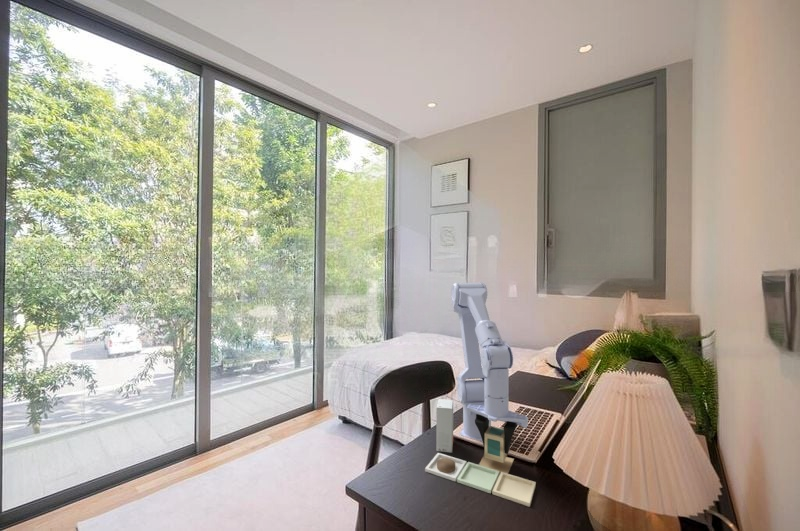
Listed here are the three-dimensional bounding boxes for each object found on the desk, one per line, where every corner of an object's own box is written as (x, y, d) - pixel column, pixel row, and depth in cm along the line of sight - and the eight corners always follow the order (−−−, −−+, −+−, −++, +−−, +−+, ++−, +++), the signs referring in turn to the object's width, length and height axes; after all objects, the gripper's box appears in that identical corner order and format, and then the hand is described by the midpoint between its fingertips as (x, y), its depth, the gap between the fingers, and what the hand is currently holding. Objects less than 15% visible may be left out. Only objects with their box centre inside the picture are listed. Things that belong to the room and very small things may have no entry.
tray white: (438, 457, 89) (438, 452, 89) (466, 466, 85) (466, 461, 85) (425, 473, 82) (425, 468, 82) (455, 483, 78) (455, 478, 78)
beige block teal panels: (489, 448, 88) (489, 424, 88) (507, 453, 86) (507, 429, 86) (484, 457, 84) (484, 433, 84) (503, 463, 82) (503, 437, 82)
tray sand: (501, 476, 81) (501, 471, 81) (535, 487, 77) (535, 482, 77) (492, 496, 74) (492, 490, 74) (529, 509, 70) (529, 503, 70)
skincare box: (452, 454, 90) (452, 408, 90) (436, 452, 91) (435, 407, 90) (453, 442, 96) (453, 399, 96) (438, 440, 97) (438, 398, 96)
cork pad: (486, 453, 90) (486, 451, 90) (513, 461, 87) (513, 458, 87) (478, 467, 84) (478, 465, 84) (507, 476, 81) (507, 474, 81)
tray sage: (468, 466, 85) (468, 461, 85) (499, 476, 81) (499, 471, 81) (456, 484, 78) (457, 479, 78) (490, 495, 74) (490, 490, 74)
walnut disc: (441, 460, 86) (441, 456, 86) (458, 465, 84) (458, 461, 84) (434, 469, 83) (434, 465, 83) (451, 475, 80) (451, 471, 80)
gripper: (462, 394, 85) (462, 448, 85) (524, 406, 78) (524, 465, 78) (471, 384, 91) (471, 435, 92) (529, 395, 84) (529, 450, 84)
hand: (496, 448), depth 85 cm, fingers closed on beige block teal panels, 4 cm apart
